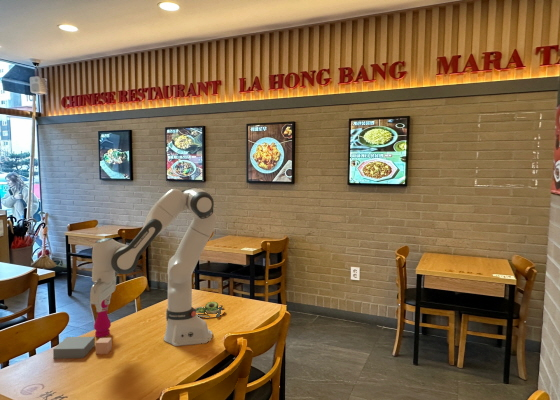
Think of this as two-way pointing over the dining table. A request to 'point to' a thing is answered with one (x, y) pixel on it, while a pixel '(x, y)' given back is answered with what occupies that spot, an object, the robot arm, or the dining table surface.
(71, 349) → the grey square slab
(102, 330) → the pepper mill
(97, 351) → the terracotta block
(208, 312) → the salad plate
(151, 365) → the dining table surface
